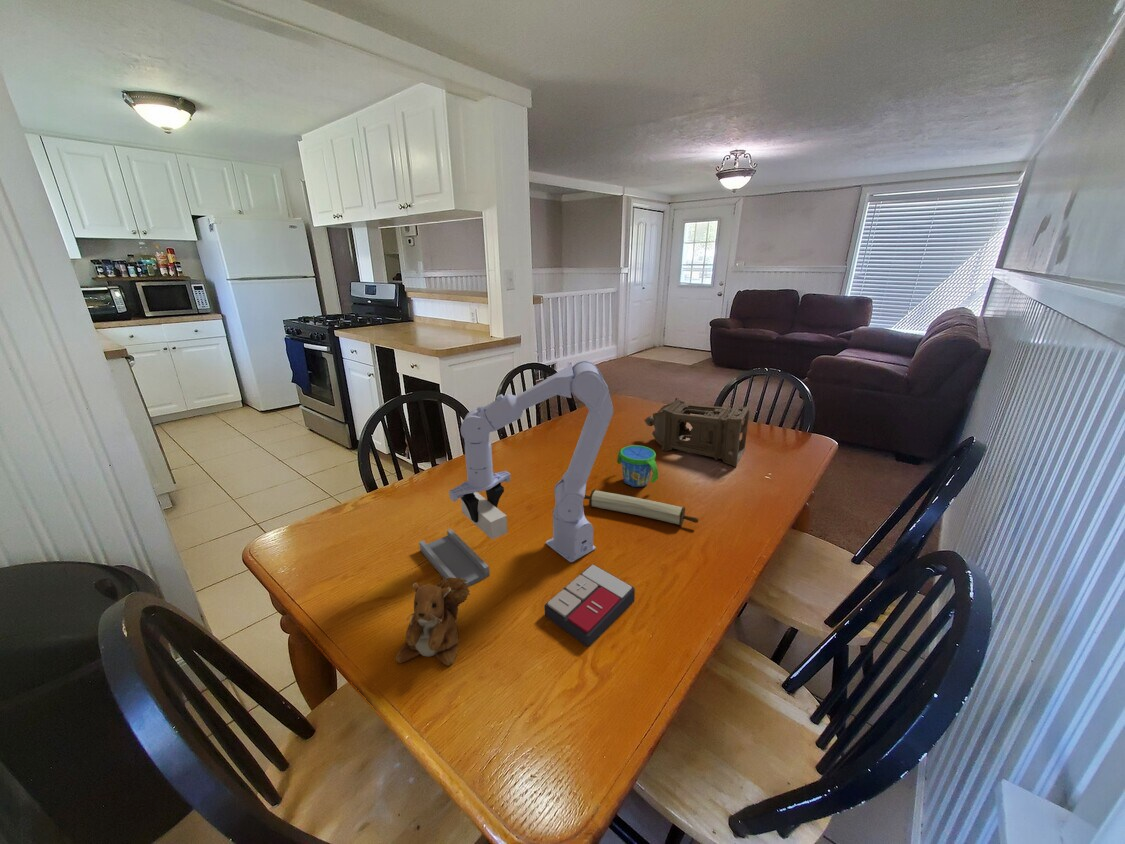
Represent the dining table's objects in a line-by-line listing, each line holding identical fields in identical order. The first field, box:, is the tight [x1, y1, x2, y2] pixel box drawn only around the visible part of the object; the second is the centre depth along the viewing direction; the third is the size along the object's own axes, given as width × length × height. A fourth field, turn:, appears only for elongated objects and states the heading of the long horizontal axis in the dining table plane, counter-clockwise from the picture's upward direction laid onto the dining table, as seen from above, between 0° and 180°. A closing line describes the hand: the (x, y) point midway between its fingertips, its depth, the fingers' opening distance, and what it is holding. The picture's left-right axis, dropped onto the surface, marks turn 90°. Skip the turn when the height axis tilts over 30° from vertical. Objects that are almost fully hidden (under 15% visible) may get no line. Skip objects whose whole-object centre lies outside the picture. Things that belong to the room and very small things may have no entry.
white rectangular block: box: [460, 492, 508, 541], centre depth 99 cm, size 14×4×4 cm, turn 40°
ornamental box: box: [644, 397, 751, 468], centre depth 152 cm, size 35×18×18 cm, turn 58°
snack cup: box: [616, 444, 659, 488], centre depth 130 cm, size 16×10×10 cm
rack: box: [418, 528, 490, 588], centre depth 96 cm, size 18×8×2 cm, turn 40°
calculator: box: [543, 564, 636, 648], centre depth 84 cm, size 11×4×15 cm
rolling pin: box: [584, 488, 699, 527], centre depth 114 cm, size 32×6×5 cm, turn 67°
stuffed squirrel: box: [395, 577, 471, 667], centre depth 75 cm, size 10×14×13 cm
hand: (483, 516), depth 99 cm, fingers closed on white rectangular block, 4 cm apart
